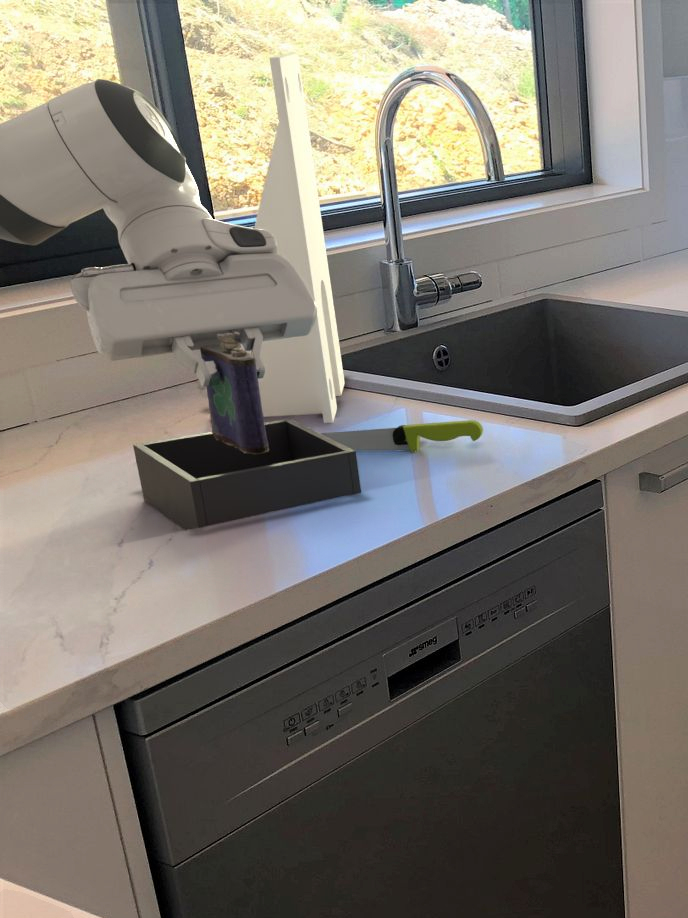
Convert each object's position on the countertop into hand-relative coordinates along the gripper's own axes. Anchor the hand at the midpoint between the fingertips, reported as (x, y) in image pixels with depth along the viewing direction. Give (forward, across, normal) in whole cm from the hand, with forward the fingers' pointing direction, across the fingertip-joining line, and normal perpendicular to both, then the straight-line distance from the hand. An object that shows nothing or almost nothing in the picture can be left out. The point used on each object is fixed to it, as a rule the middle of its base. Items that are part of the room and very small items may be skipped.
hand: (234, 379), depth 132 cm
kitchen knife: (+2, +18, +16) cm, 24 cm away
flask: (+4, 0, +5) cm, 7 cm away
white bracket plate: (-17, +17, +35) cm, 42 cm away
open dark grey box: (+9, 0, +9) cm, 13 cm away
